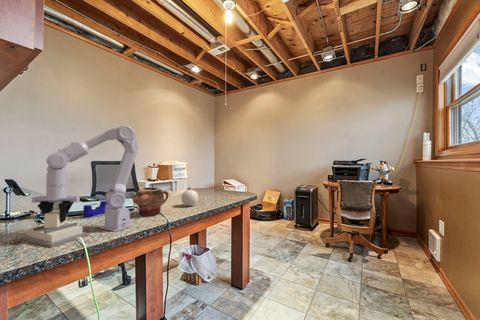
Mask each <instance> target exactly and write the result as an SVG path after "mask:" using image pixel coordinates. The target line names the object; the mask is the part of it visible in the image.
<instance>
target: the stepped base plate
mask: <svg viewBox="0 0 480 320" xmlns="http://www.w3.org/2000/svg"><path fill="white" fill-rule="evenodd" d="M85 236H86V237H88V236H90V235H89V232H86V231H83V226H82V225H78V222H73V223H68V222H67V223H65V224H63V225H61V226H59V227H57V228H44V225H39V226H35V227H32V228H28V229H27V234H24V235H21V236H20V239H21V240H23V241H27V242H30V243H34V244H38V245H40V246H41V245H42V246H45V247H49V248H54V247H57V246H61V245H64V244H66V242H67V243H70V242H73V241H75V240H76V239H77V237H83V238H85ZM77 240H78V239H77Z"/></svg>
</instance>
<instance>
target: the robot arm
mask: <svg viewBox="0 0 480 320" xmlns="http://www.w3.org/2000/svg"><path fill="white" fill-rule="evenodd" d="M114 140H116V141H118V143H120V144H121V145H122V146H123V148H124V152H123V154H122V158H121V161H120V163H119V166H118V169H117V173H116V174H115V177H114V181H113V183H112V185H111V186H110V188H109V189H108V191H107V192H106V193H105V195H104V201H106V202H107V205H106V206H105V213H104V225H102V226H100V227H99V229H102V230H107V231H111V232H118V231H120V230H124V229H126V228H129V227H132V225H131V224H130V223H131V221H130V220H131V212H130V210H129V208H127V207H125V203H126V193H127V187H126V186H127V184H128V181H129V177H130V176H131V175H130V174H131V171H132V169H133V165H134V163H135V159H136V157H137V154H138V151H139V145H138V140H137V134H136V132H135V130H134V129H133V128H132V127H131V126H130V125H126V124H123V125H121V126H118V127H115V128H111V129H108V130H105V131H104V132H102V133H100V134H98V135H96V136H94V137H92V138H90V139H88V140H87V141H85V142H83V141H76V142H75V141H73V142H71V143H70V145H68V146H66V147H64V148H59V149H57V150H56V151H57V152H52V153H51V154H49V155H48V156H47V158H46V164H47V165H48V166H47V168H46V171H47V172H46V189H45V190H46V191H45V196H43V195H42V196H41V195H40V196H34V197H31V204H32V203H33V204H35V203H39V204H37V207H38V209H39V210H40V212H41V211H42V213H43V215H45V214H46V213H49V212H51V211H52V210H53V205H54V202H62V203H60V204H58V206H59V210H60V222H64V221H66V217H67V218H68V214H69V211H70V209H71V208H72V206H73V205H74V203H78V202H80V195H79V196H78V195H77V196H75V195H67V181H68V180H67V175H68V174H67V165H68V163H73V162H76V161H77V160H79V159H80V158H83V157H85V156H86V155H87V156H88V154H89V152H90V151H89V150H90V149H93V148H94V147H96V146H100V144H102V143H105V142H107V141H114Z"/></svg>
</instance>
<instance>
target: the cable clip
mask: <svg viewBox="0 0 480 320" xmlns="http://www.w3.org/2000/svg"><path fill="white" fill-rule="evenodd" d="M106 205H107V202H106V201H105V200H101V201H100V203H99V206H97V207H95V208H94V209H93V207H92V205H90V204H86V205H85V204H84V205H83V214H82V215H83V218H85V219H86V218H89V219H90V218H93V217H95V216H99V215H103V214H105V212H104V210H105V206H106Z"/></svg>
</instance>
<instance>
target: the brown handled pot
mask: <svg viewBox="0 0 480 320" xmlns="http://www.w3.org/2000/svg"><path fill="white" fill-rule="evenodd" d="M164 194H165V196H164ZM168 198H169V192H168V191H167V190H165V189H164V190H162V188H159V187H143V188H140V189H138V190H137V192H136V194H135V197H133V203H135V205H137V207H138V214H139V215H140V216H142V217H154V216H158V215H159V214H160V213H161V207H162V206H163V205H165V203H166V202H167V200H168Z"/></svg>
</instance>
